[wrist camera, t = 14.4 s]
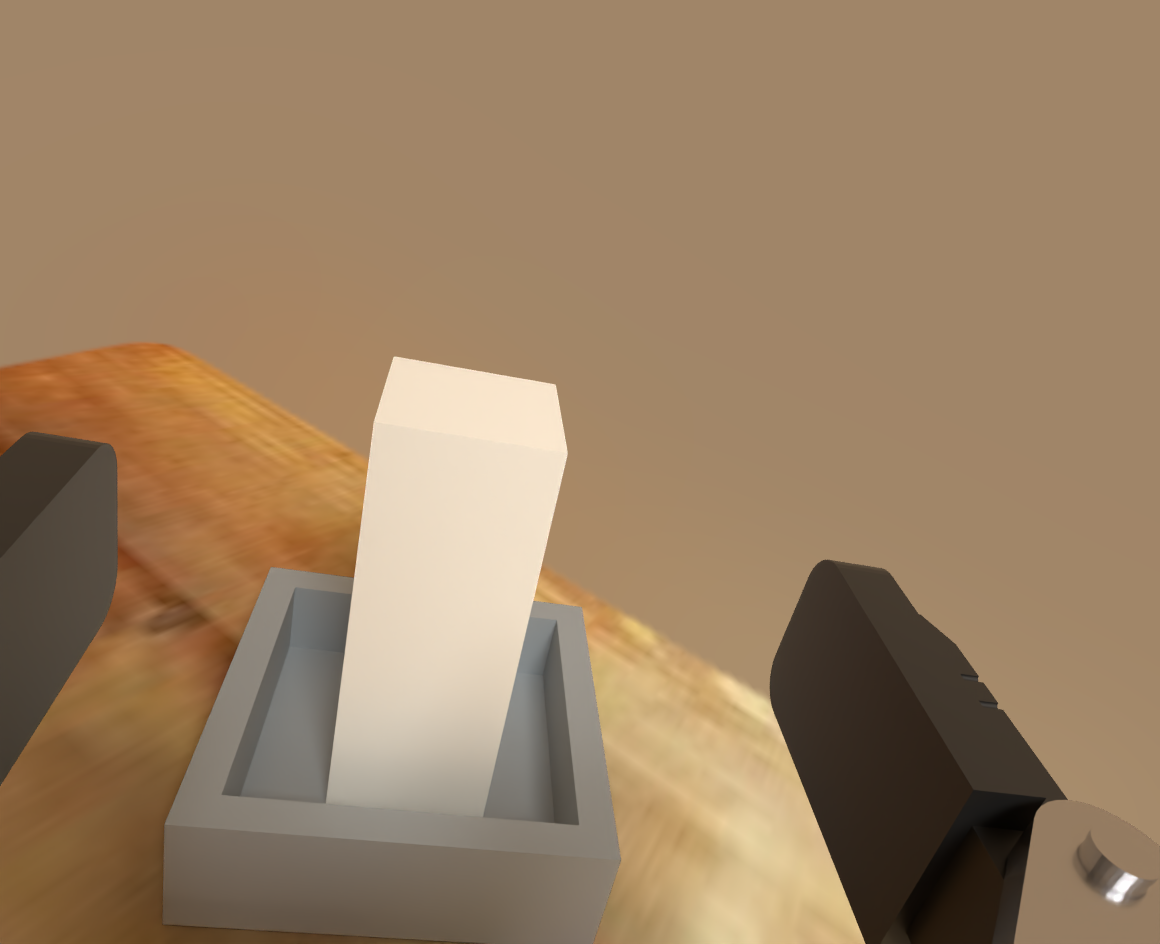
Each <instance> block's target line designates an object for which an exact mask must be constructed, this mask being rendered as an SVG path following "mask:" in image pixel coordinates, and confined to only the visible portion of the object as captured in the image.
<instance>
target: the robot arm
mask: <svg viewBox="0 0 1160 944" xmlns="http://www.w3.org/2000/svg"><path fill="white" fill-rule="evenodd" d="M117 564H118V555H117V459H116V454H115V451H114V449H113V447H112V446H111V445H110V444H107V443H101V442H94V441H88V440H82V439H76V438H69V437H63V436H57V435H51V434H44V433H38V432H29V433H26V434H25V435H24V436H22V437H21V438H20V439H19V440H18V441H17V442H16V443H15V444H13V445H12V446H11V447H10V448H9V449H8V450H7V451H6V452H5V453H4V454H3V455H1V456H0V785H1V784H2V782H3V781H4V779H5V778H6V776H7V774H8V773H9V771H10V770H11V768H12V766H13V765H14V763H15V762H16V760H17V759H18V757H19V755H20V754H21V752H22V751H23V749H24V747H25V746H26V744H27V743H28V741H29V740H30V738H31V736H32V735H33V733H34V732H35V730H36V728H37V727H38V725H39V724H40V722H41V720H42V719H43V717H44V716H45V714H46V713H47V711H48V709H49V708H50V706H51V705H52V703H53V701H54V700H55V698H56V697H57V695H58V694H59V692H60V690H61V689H62V687H63V686H64V684H65V682H66V681H67V679H68V678H69V676H70V675H71V673H72V671H73V670H74V668H75V667H76V665H77V663H78V662H79V660H80V659H81V657H82V656H83V654H84V652H85V651H86V649H87V648H88V646H89V644H90V643H91V641H92V640H93V638H94V636H95V635H96V633H97V632H98V630H99V629H100V627H101V625H102V623H103V622H104V619H105V617H106V615H107V613H108V610H109V607H110V604H111V601H112V597H113V594H114V589H115V584H116V578H117ZM770 698H771V704H772V708H773V711H774V714H775V716H776V719H777V721H778V724H779V726H780V729H781V731H782V734H783V736H784V739H785V742H786V744H787V747H788V749H789V752H790V754H791V757H792V759H793V762H794V764H795V767H796V769H797V772H798V774H799V777H800V779H801V782H802V784H803V787H804V789H805V792H806V795H807V797H808V800H809V802H810V805H811V807H812V810H813V812H814V815H815V817H816V820H817V822H818V825H819V827H820V830H821V832H822V835H823V837H824V840H825V842H826V845H827V848H828V850H829V853H830V855H831V858H832V860H833V863H834V865H835V868H836V870H837V873H838V875H839V878H840V880H841V883H842V885H843V888H844V890H845V893H846V896H847V898H848V901H849V903H850V906H851V908H852V911H853V913H854V916H855V918H856V921H857V923H858V926H859V928H860V931H861V933H862V936H863V938H864V941H865V943H866V944H1160V846H1159V845H1158V844H1157V843H1155V842H1154V841H1153V840H1152V839H1150V838H1149V837H1148V836H1147V835H1145V834H1144V833H1143V832H1141V831H1140V830H1138V829H1137V828H1135V827H1134V826H1132V825H1131V824H1129V823H1128V822H1126V821H1124V820H1122V819H1121V818H1119V817H1117V816H1115V815H1113V814H1111V813H1109V812H1107V811H1105V810H1102V809H1100V808H1097V807H1095V806H1092V805H1089V804H1085V803H1082V802H1078V801H1071V800H1068V799H1067V798H1066V797H1065V795H1064V794H1063V792H1062V791H1061V790H1060V788H1059V787H1058V786H1057V784H1056V783H1055V781H1054V780H1053V779H1052V777H1051V776H1050V774H1049V773H1048V772H1047V770H1046V769H1045V768H1044V766H1043V765H1042V763H1041V762H1040V761H1039V759H1038V758H1037V756H1036V755H1035V754H1034V752H1033V751H1032V749H1031V748H1030V747H1029V745H1028V744H1027V742H1026V741H1025V740H1024V738H1023V737H1022V736H1021V734H1020V733H1019V732H1018V730H1017V729H1016V727H1015V726H1014V725H1013V723H1012V722H1011V720H1010V719H1009V718H1008V716H1007V715H1006V713H1005V712H1004V711H1003V710H1000V709H998V708H997V704H998V702H997V701H996V700H995V698H994V697H993V695H992V694H991V693H990V691H989V690H988V688H987V687H986V686H985V684H984V683H981V682H978V675H977V673H976V672H975V671H974V669H973V668H972V666H971V665H970V664H969V662H968V661H967V659H966V658H965V657H964V655H963V654H962V652H961V651H960V650H959V648H958V647H957V646H956V644H955V643H953V642H952V641H951V640H950V639H949V638H948V637H946V636H945V635H944V634H943V633H942V632H940V631H939V630H938V629H937V628H936V627H934V626H933V625H932V624H931V623H929V622H928V621H927V620H926V619H925V618H924V617H923V616H921V615H919V614H918V613H917V611H916V610H915V608H914V607H913V606H912V604H911V603H910V601H909V600H908V598H907V597H906V596H905V594H904V593H903V591H902V590H901V588H900V587H899V586H898V584H897V583H896V581H895V580H894V578H893V577H892V576H891V574H890V573H889V572H888V571H886V570H885V569H882V568H876V567H870V566H864V565H858V564H851V563H845V562H838V561H832V560H823V561H821V562H819V563H818V564H817V565H816V566H815V567H814V568H813V570H812V572H811V573H810V575H809V577H808V580H807V582H806V584H805V587H804V590H803V592H802V594H801V596H800V599H799V601H798V603H797V606H796V608H795V610H794V613H793V615H792V617H791V620H790V622H789V625H788V627H787V629H786V632H785V634H784V636H783V639H782V641H781V643H780V646H779V648H778V651H777V653H776V655H775V658H774V661H773V665H772V670H771V676H770Z"/></svg>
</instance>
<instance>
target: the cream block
mask: <svg viewBox="0 0 1160 944" xmlns="http://www.w3.org/2000/svg"><path fill="white" fill-rule="evenodd" d="M567 454H568V452H567V446H566V441H565V435H564V430H563V425H562V418H561V413H560V407H559V402H558V396H557V390H556V385H555V384H549V383H543V382H537V381H532V380H526V379H520V378H514V377H509V376H503V375H498V374H492V373H486V372H480V371H475V370H469V369H463V368H457V367H451V366H446V365H440V364H435V363H429V362H423V361H417V360H411V359H406V358H400V357H394V358H393V361H392V365H391V368H390V371H389V374H388V378H387V381H386V384H385V387H384V391H383V394H382V397H381V401H380V404H379V407H378V410H377V414H376V417H375V420H374V426H373V433H372V441H371V450H370V457H369V465H368V473H367V481H366V489H365V496H364V504H363V512H362V520H361V528H360V536H359V544H358V552H357V560H356V568H355V576H354V584H353V591H352V599H351V607H350V615H349V623H348V631H347V639H346V647H345V655H344V663H343V671H342V678H341V686H340V694H339V702H338V710H337V718H336V726H335V734H334V742H333V750H332V758H331V765H330V773H329V781H328V789H327V797H326V804H334V805H345V806H357V807H369V808H381V809H393V810H404V811H416V812H428V813H440V814H451V815H463V816H475V817H483V814H484V809H485V805H486V801H487V797H488V792H489V788H490V784H491V779H492V775H493V771H494V767H495V762H496V758H497V754H498V749H499V745H500V741H501V737H502V732H503V728H504V724H505V720H506V715H507V711H508V707H509V702H510V698H511V694H512V690H513V685H514V681H515V677H516V672H517V668H518V664H519V660H520V655H521V651H522V647H523V642H524V638H525V634H526V630H527V625H528V621H529V617H530V612H531V608H532V604H533V600H534V595H535V591H536V587H537V582H538V578H539V574H540V570H541V565H542V560H543V556H544V552H545V548H546V544H547V539H548V535H549V531H550V526H551V522H552V518H553V514H554V510H555V505H556V501H557V497H558V492H559V488H560V484H561V480H562V475H563V471H564V467H565V462H566V457H567Z"/></svg>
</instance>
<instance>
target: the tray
mask: <svg viewBox="0 0 1160 944" xmlns="http://www.w3.org/2000/svg"><path fill="white" fill-rule="evenodd" d="M353 584H354V578H352V577H344V576H337V575H329V574H321V573H314V572H306V571H298V570H290V569H283V568H275V567H271V568H270V571H269V573H268V575H267V578H266V580H265V583H264V585H263V588H262V590H261V592H260V595H259V597H258V600H257V602H256V604H255V607H254V609H253V612H252V614H251V617H250V619H249V621H248V624H247V626H246V629H245V631H244V633H243V636H242V638H241V641H240V643H239V646H238V648H237V650H236V653H235V655H234V658H233V660H232V662H231V665H230V667H229V670H228V672H227V675H226V677H225V679H224V682H223V684H222V687H221V689H220V691H219V694H218V696H217V699H216V701H215V704H214V706H213V708H212V711H211V713H210V716H209V718H208V720H207V723H206V725H205V728H204V730H203V733H202V735H201V737H200V740H199V742H198V745H197V747H196V749H195V752H194V754H193V757H192V759H191V762H190V764H189V766H188V769H187V771H186V774H185V776H184V778H183V781H182V783H181V786H180V788H179V791H178V793H177V795H176V798H175V800H174V803H173V805H172V807H171V810H170V812H169V815H168V817H167V820H166V822H165V824H164V873H163V924H164V925H181V926H198V927H214V928H231V929H248V930H265V931H282V932H298V933H315V934H332V935H349V936H366V937H382V938H399V939H416V940H433V941H450V942H466V943H483V944H593V942H594V939H595V936H596V933H597V930H598V927H599V924H600V921H601V918H602V915H603V912H604V910H605V907H606V904H607V901H608V898H609V895H610V892H611V889H612V886H613V883H614V880H615V877H616V874H617V871H618V868H619V865H620V862H621V857H620V850H619V844H618V837H617V831H616V825H615V818H614V812H613V805H612V799H611V792H610V786H609V779H608V773H607V766H606V760H605V754H604V747H603V741H602V734H601V728H600V721H599V715H598V708H597V702H596V695H595V689H594V683H593V676H592V670H591V663H590V657H589V650H588V644H587V637H586V631H585V624H584V618H583V612H582V607H576V606H569V605H561V604H553V603H545V602H538V601H533V604H532V608H531V612H530V617H529V621H528V625H527V630H526V634H525V638H524V642H523V647H522V651H521V655H520V660H519V664H518V668H517V672H516V677H515V681H514V685H513V690H512V694H511V698H510V702H509V707H508V711H507V715H506V720H505V724H504V728H503V732H502V737H501V741H500V745H499V749H498V754H497V758H496V762H495V767H494V771H493V775H492V779H491V784H490V788H489V792H488V797H487V801H486V805H485V809H484V814H483V817H475V816H463V815H451V814H440V813H428V812H416V811H404V810H393V809H381V808H369V807H357V806H345V805H334V804H326V797H327V789H328V781H329V773H330V765H331V758H332V750H333V742H334V734H335V726H336V718H337V710H338V702H339V694H340V686H341V678H342V671H343V663H344V655H345V647H346V639H347V631H348V623H349V615H350V607H351V599H352V591H353Z"/></svg>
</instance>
